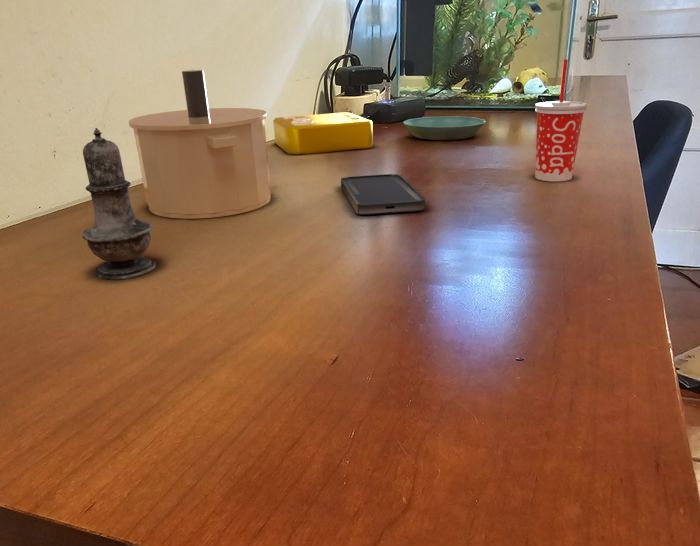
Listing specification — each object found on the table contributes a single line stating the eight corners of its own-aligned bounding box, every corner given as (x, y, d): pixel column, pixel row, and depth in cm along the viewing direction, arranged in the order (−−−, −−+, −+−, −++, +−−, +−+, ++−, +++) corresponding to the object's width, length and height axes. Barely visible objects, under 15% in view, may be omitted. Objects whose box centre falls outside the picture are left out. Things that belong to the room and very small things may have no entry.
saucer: (478, 143, 108) (479, 127, 107) (394, 142, 113) (394, 126, 112) (489, 130, 121) (490, 115, 120) (413, 129, 125) (413, 115, 124)
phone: (398, 173, 83) (427, 200, 70) (398, 182, 84) (427, 210, 70) (338, 177, 82) (356, 205, 69) (339, 186, 83) (356, 215, 69)
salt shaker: (79, 270, 57) (45, 130, 52) (139, 254, 61) (113, 121, 55) (109, 286, 53) (76, 135, 48) (171, 267, 57) (147, 125, 51)
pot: (167, 231, 67) (151, 137, 63) (136, 194, 83) (121, 118, 79) (296, 211, 73) (289, 123, 68) (243, 180, 89) (235, 107, 85)
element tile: (376, 148, 108) (375, 118, 106) (289, 156, 105) (286, 125, 102) (351, 136, 121) (350, 109, 119) (273, 142, 117) (270, 115, 115)
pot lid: (143, 141, 65) (132, 78, 62) (121, 125, 77) (111, 72, 75) (287, 126, 71) (282, 68, 68) (244, 113, 83) (239, 64, 81)
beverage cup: (524, 181, 82) (534, 61, 75) (533, 171, 87) (544, 58, 80) (574, 183, 79) (589, 60, 73) (581, 173, 84) (595, 57, 78)
